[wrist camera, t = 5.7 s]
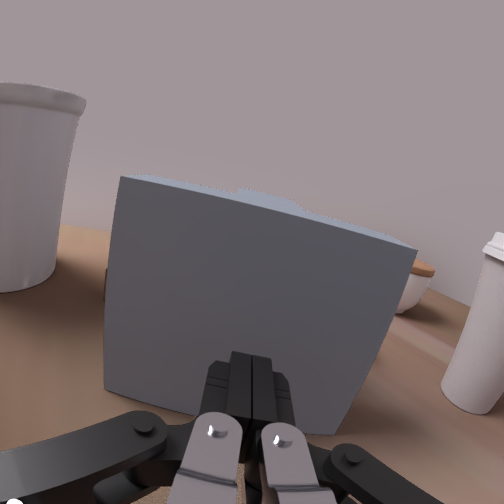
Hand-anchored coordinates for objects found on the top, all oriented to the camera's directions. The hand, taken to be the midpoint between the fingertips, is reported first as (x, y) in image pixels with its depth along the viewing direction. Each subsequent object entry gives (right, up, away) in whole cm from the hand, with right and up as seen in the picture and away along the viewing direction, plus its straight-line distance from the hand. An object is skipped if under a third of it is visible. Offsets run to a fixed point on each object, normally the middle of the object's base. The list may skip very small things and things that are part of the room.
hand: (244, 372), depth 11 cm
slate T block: (-2, -4, +10) cm, 11 cm away
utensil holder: (-26, +3, +13) cm, 29 cm away
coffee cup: (+21, -9, +11) cm, 25 cm away
